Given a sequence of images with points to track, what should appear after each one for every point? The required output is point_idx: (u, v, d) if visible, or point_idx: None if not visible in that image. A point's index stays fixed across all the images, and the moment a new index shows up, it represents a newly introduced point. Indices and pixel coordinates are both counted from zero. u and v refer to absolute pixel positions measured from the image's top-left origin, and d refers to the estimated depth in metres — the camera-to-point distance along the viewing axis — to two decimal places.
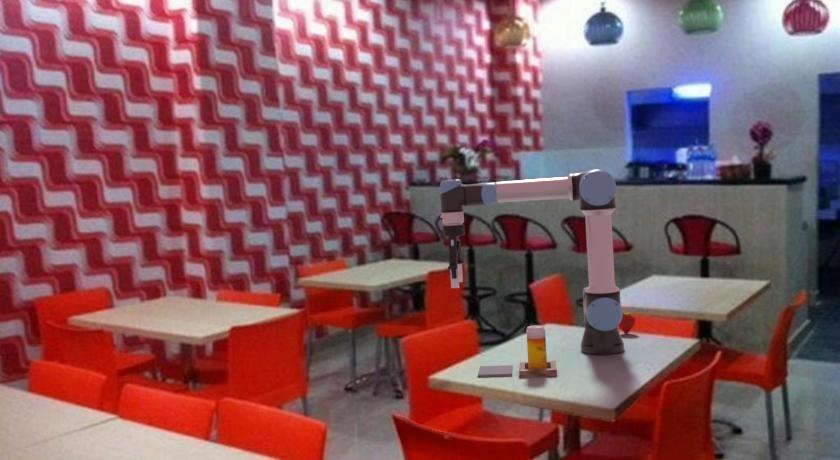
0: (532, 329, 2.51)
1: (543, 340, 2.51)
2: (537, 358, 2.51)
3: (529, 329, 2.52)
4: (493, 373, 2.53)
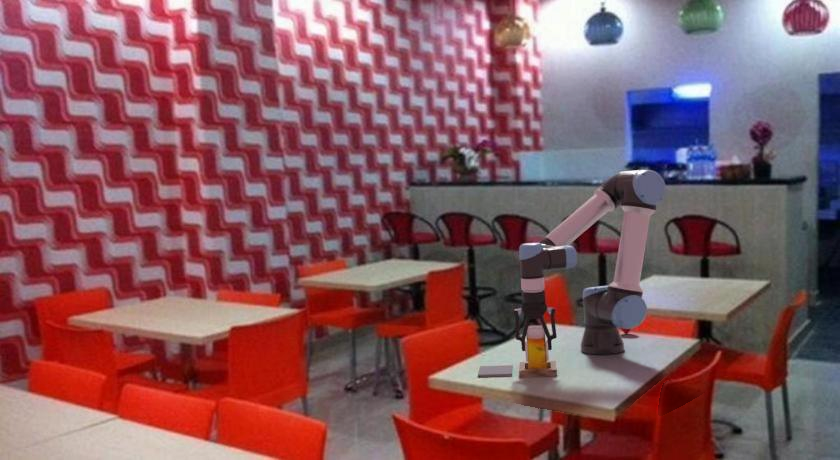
0: (532, 329, 2.51)
1: (543, 340, 2.51)
2: (537, 358, 2.51)
3: (529, 329, 2.52)
4: (493, 373, 2.53)
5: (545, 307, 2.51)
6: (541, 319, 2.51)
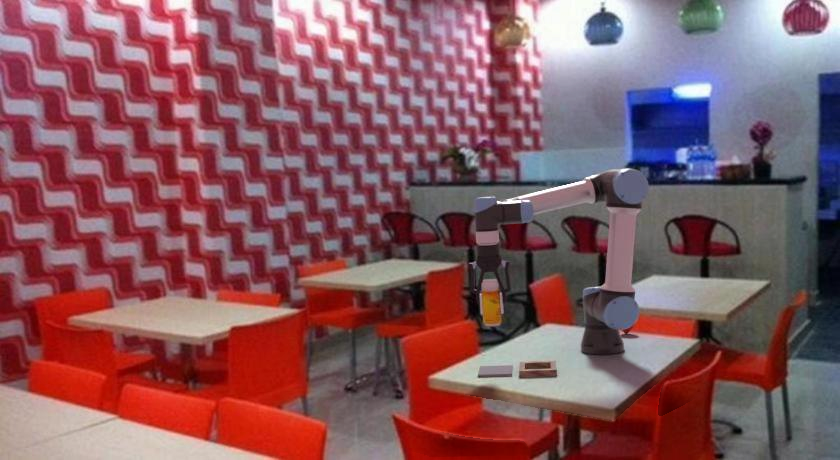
0: (486, 282, 2.53)
1: (497, 293, 2.53)
2: (491, 310, 2.53)
3: (483, 282, 2.54)
4: (493, 373, 2.53)
5: (499, 260, 2.53)
6: (495, 272, 2.53)
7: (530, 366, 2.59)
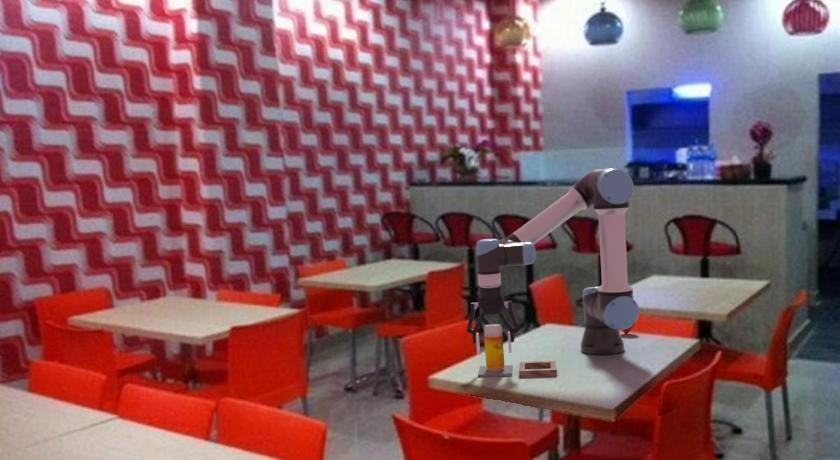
0: (489, 328, 2.54)
1: (500, 338, 2.54)
2: (494, 356, 2.54)
3: (486, 328, 2.55)
4: (493, 373, 2.53)
5: (501, 302, 2.54)
6: (499, 313, 2.54)
7: (530, 366, 2.59)
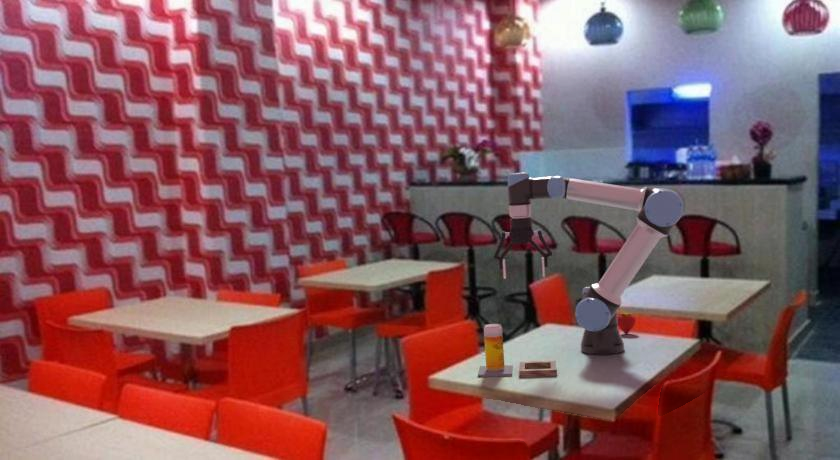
0: (489, 328, 2.54)
1: (500, 338, 2.54)
2: (494, 356, 2.54)
3: (486, 328, 2.55)
4: (493, 373, 2.53)
5: (531, 232, 2.69)
6: (531, 242, 2.69)
7: (530, 366, 2.59)
